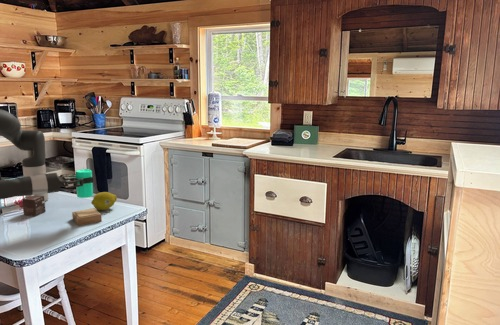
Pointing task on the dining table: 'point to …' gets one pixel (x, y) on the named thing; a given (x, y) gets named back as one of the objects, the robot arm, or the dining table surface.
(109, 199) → the lemon
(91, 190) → the candle
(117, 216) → the dining table surface
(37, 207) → the box
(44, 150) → the robot arm
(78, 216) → the stand
